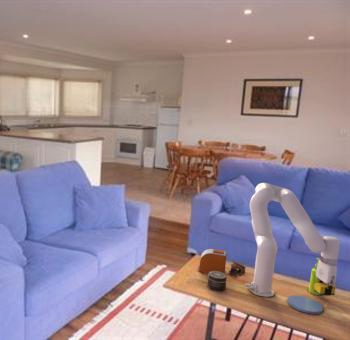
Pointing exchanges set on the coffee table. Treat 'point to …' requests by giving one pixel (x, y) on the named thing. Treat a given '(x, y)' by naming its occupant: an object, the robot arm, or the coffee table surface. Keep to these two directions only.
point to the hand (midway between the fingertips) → (324, 292)
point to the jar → (217, 280)
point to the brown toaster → (213, 261)
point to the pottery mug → (235, 271)
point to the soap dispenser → (313, 278)
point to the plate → (305, 304)
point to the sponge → (322, 288)
